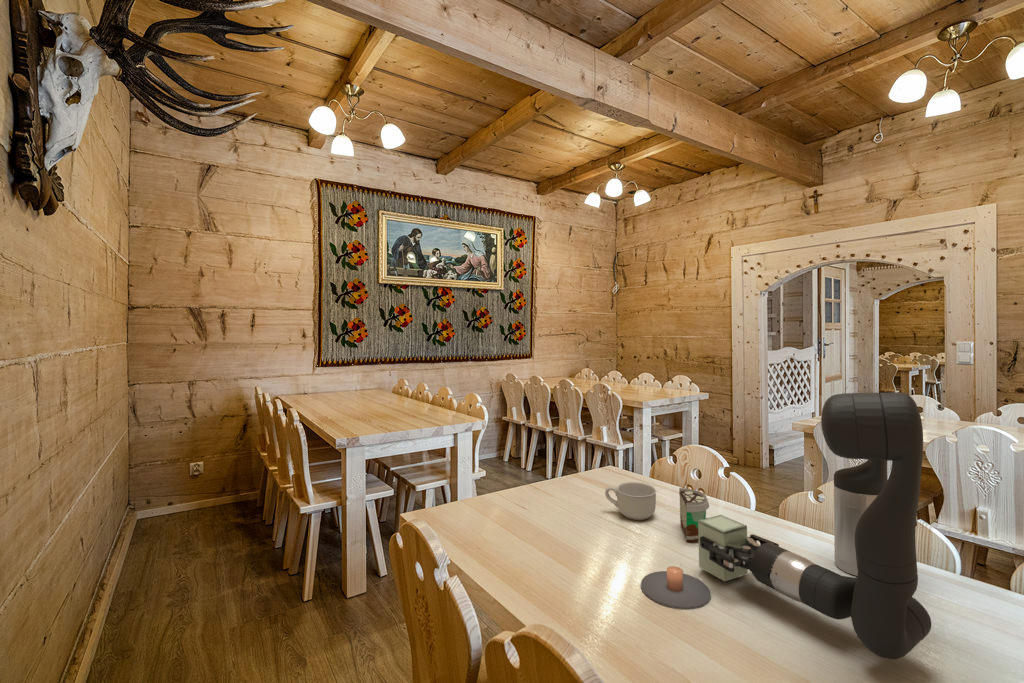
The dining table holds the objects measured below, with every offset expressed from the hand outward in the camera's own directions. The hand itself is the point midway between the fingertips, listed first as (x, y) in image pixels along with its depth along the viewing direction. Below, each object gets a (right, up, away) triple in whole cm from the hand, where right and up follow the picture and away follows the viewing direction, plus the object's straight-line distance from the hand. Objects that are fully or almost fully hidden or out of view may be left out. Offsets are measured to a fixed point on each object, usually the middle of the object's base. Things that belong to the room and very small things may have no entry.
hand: (713, 537), depth 100 cm
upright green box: (+1, -6, -2) cm, 6 cm away
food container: (+3, -7, +18) cm, 19 cm away
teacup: (-10, -7, +31) cm, 34 cm away
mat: (-11, -7, -7) cm, 15 cm away
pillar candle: (-11, -7, -7) cm, 15 cm away
